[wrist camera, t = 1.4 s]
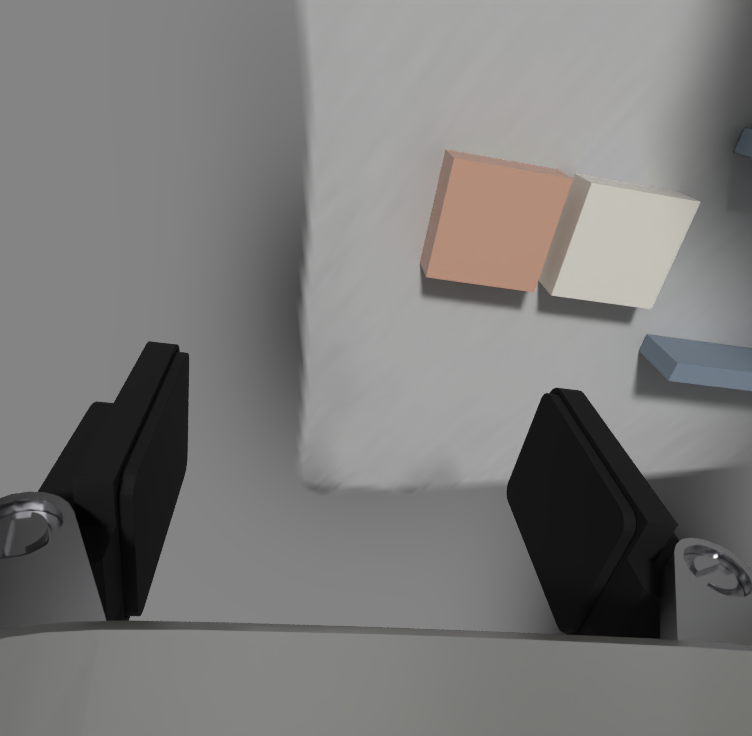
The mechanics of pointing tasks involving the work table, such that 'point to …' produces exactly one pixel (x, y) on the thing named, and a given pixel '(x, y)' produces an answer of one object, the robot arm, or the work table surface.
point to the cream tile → (616, 241)
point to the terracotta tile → (492, 221)
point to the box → (703, 345)
